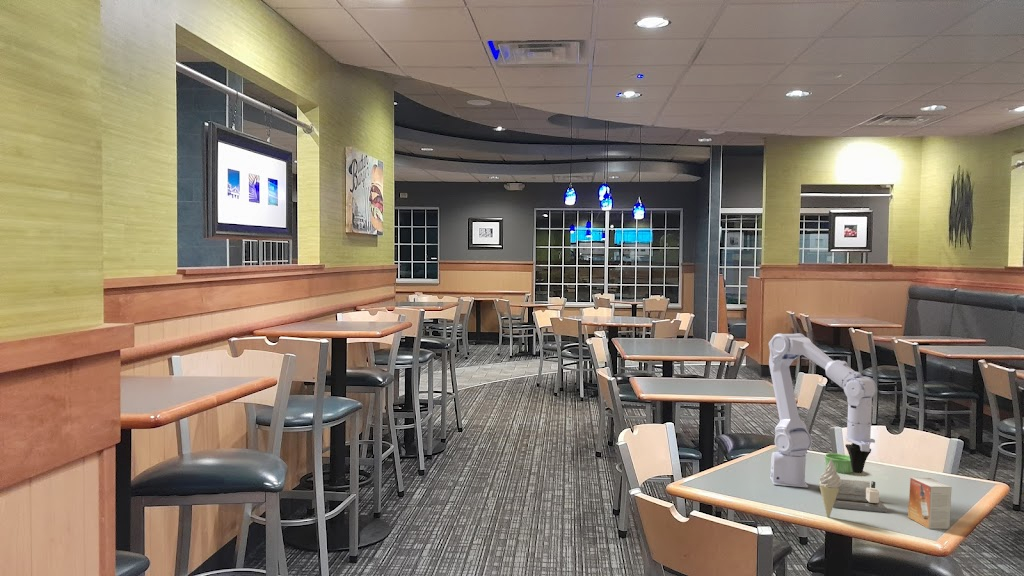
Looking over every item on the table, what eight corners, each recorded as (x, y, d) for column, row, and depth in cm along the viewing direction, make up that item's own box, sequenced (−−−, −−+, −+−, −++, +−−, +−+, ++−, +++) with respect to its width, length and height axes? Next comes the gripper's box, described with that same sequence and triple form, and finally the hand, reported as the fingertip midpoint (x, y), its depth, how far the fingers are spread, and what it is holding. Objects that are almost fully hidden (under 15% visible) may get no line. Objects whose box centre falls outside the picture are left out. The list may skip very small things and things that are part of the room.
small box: (907, 518, 182) (909, 477, 182) (928, 518, 183) (930, 477, 183) (928, 529, 174) (930, 486, 174) (950, 529, 175) (952, 486, 175)
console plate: (832, 507, 189) (833, 486, 189) (818, 488, 207) (819, 468, 207) (886, 512, 186) (887, 490, 186) (867, 492, 204) (868, 473, 204)
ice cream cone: (837, 521, 177) (840, 461, 177) (815, 517, 180) (818, 458, 180) (840, 516, 182) (843, 457, 181) (819, 512, 184) (821, 454, 184)
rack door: (829, 491, 199) (830, 479, 199) (828, 489, 200) (829, 477, 200) (869, 494, 197) (870, 482, 197) (868, 493, 198) (868, 481, 198)
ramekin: (860, 475, 224) (860, 461, 224) (831, 473, 224) (832, 459, 224) (847, 467, 233) (847, 453, 233) (819, 466, 233) (820, 452, 233)
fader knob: (869, 502, 189) (869, 491, 189) (865, 498, 193) (866, 487, 193) (878, 503, 189) (879, 492, 189) (874, 499, 192) (875, 488, 192)
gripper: (883, 428, 185) (881, 480, 185) (867, 418, 199) (865, 467, 200) (853, 426, 187) (851, 478, 187) (840, 416, 201) (838, 464, 201)
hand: (857, 472), depth 193 cm, fingers closed
